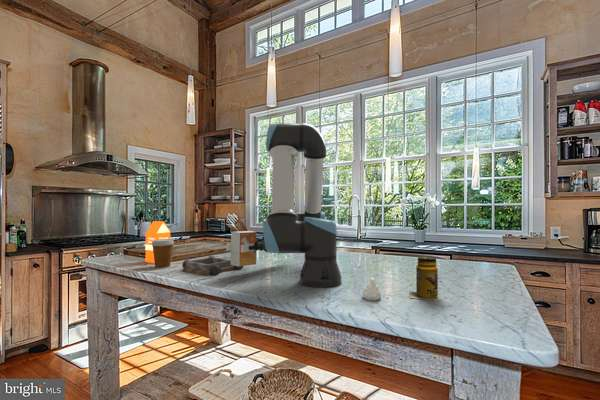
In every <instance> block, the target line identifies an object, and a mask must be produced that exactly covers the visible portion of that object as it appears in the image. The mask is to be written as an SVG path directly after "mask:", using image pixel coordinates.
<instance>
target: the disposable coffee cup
mask: <svg viewBox="0 0 600 400" xmlns="http://www.w3.org/2000/svg"><path fill="white" fill-rule="evenodd" d="M151 244H152V246H153V254H154V262H155V263H154V267H155V268H157V269H164V268H169V267H170V266H171V261H172V256H173V255H172V254H173V247H174V244H175V242H174V239H172V238H170V239H159V240H153V241H152V243H151Z"/></svg>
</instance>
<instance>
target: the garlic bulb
mask: <svg viewBox="0 0 600 400" xmlns="http://www.w3.org/2000/svg"><path fill="white" fill-rule="evenodd" d="M381 293H382V292H381V288H380V287H379V286H378V285H377V283H376V280H375V278H374V277H370V278H369V281H368V282H367V283H366V285H365V286H364V287H363V290H362V296H363V299H365V300H368V301H379V300H381V299H382V294H381Z"/></svg>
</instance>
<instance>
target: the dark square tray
mask: <svg viewBox="0 0 600 400" xmlns="http://www.w3.org/2000/svg"><path fill="white" fill-rule="evenodd" d="M181 265H182V272H186V273H192V274H197V275H203V276H207V277H208V275H209V276H213V275H214V276H218V275H219V274H220V273H221V274H222V273H225V272H230V271H234V270H242V269H243V268H244V267H245V266H240V267H239V266H234V265H231V259H230V258H229V259H228V258H222V257H216V256H215V255H209V256H207V257H205V258H198V259H194V260H193V259H191V260H189V259H185V260H184V261H183V262H182V264H181Z"/></svg>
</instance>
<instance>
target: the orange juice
mask: <svg viewBox="0 0 600 400" xmlns="http://www.w3.org/2000/svg"><path fill="white" fill-rule="evenodd" d="M159 239H171V230H170V229H169V227H168V226H167V225H166V223H165V221H160V220H159V221H158V220H157V221H156V220H153V221H152V222H151V224H150V226H149V227H148V228H147V230H146V232H145V249H144V250H145V258H144V259H145V263H150V264H151V263H152V264H155V262H154V254H153V246H152V244H151V243H152V241H153V240H159Z"/></svg>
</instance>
